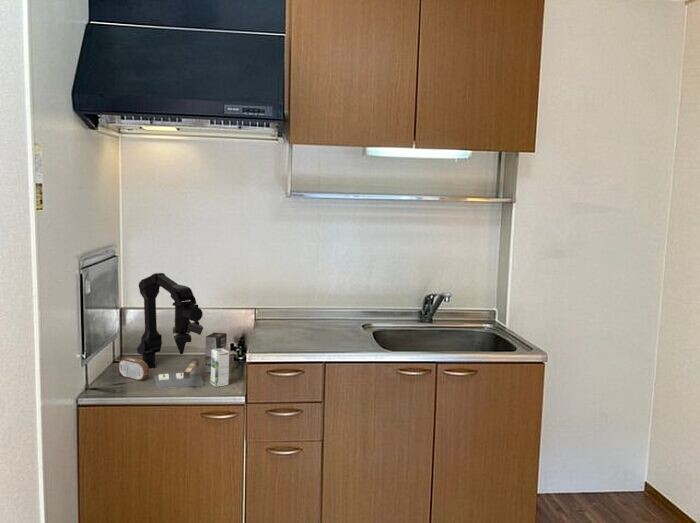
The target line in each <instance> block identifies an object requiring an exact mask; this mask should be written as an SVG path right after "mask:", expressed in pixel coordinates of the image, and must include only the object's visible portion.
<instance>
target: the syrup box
mask: <svg viewBox="0 0 700 523" xmlns="http://www.w3.org/2000/svg"><path fill="white" fill-rule="evenodd" d="M229 373H230V351H229V350H227V349H226V350H225V349H214V350H212V355H211V372H210V384H211V385H213V386H214V387H215V388H219V386H220V387H225V386H228V385H229V378H230V376H229V375H230V374H229Z"/></svg>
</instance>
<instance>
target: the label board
mask: <svg viewBox="0 0 700 523" xmlns="http://www.w3.org/2000/svg"><path fill="white" fill-rule="evenodd" d="M183 374H184V372H176V373H175V374H174V373H173V374H170V373H163V374H162V373H160V374H158V375H154V385H155V386H156V387H155V389H156V388H168V387H183V388H190V387H189V386H196V387H204V381H203V378H202V375H201V372H199V366H196V368H195V369H194V371H193V372H192V374H191V376H190V378H189V379H185V378H183ZM187 386H188V387H187Z"/></svg>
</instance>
